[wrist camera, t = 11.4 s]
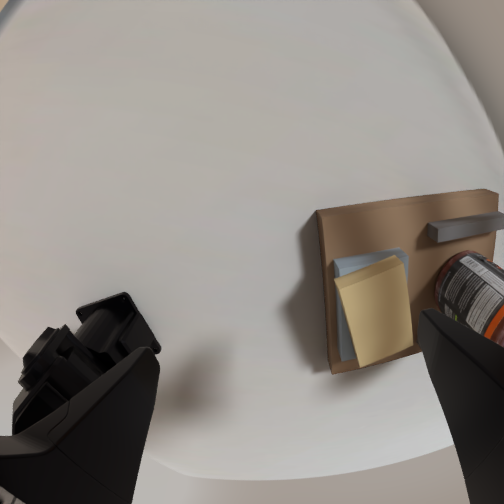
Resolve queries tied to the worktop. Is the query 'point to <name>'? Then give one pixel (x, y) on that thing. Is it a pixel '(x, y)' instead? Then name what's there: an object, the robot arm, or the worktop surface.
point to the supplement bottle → (473, 294)
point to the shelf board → (412, 242)
